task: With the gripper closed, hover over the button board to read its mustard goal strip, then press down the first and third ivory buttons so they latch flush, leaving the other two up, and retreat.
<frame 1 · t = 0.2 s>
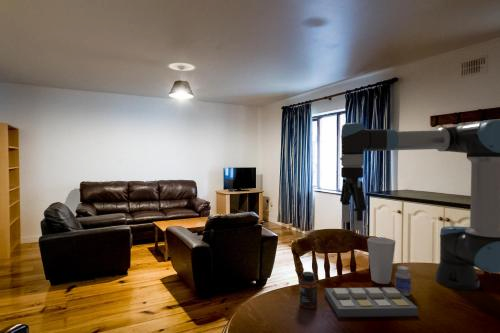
hand: (351, 225, 110), 27 cm above the table, fingers open, 13 cm apart
pill bottle: (402, 293, 117), on the table
cup: (381, 281, 129), on the table
button 4: (340, 294, 109), point 3 cm above the table, slide at 0.0 cm
board: (368, 304, 107), on the table
button 3: (357, 293, 109), point 3 cm above the table, slide at 0.0 cm
button 1: (390, 293, 110), point 3 cm above the table, slide at 0.0 cm
supplement bottle: (308, 306, 107), on the table
button 2: (374, 293, 109), point 3 cm above the table, slide at 0.0 cm
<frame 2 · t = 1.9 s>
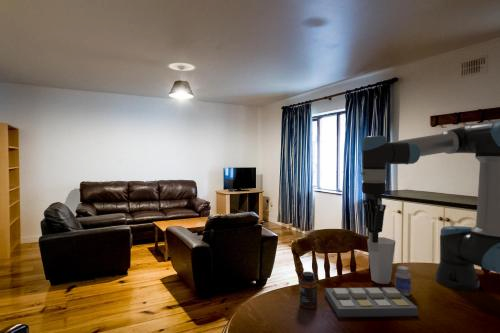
hand: (373, 251, 104), 20 cm above the table, fingers closed
nothing on the table moved.
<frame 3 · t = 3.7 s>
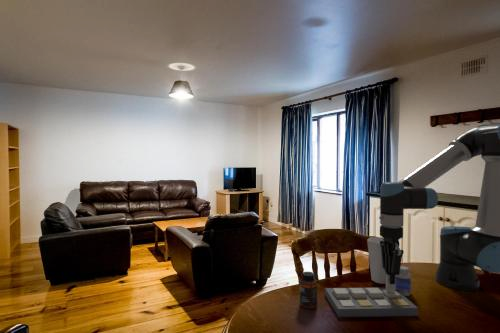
hand: (390, 291, 110), 4 cm above the table, fingers closed
button 1: (390, 295, 110), point 2 cm above the table, slide at 0.8 cm, touching gripper
everything else where it was.
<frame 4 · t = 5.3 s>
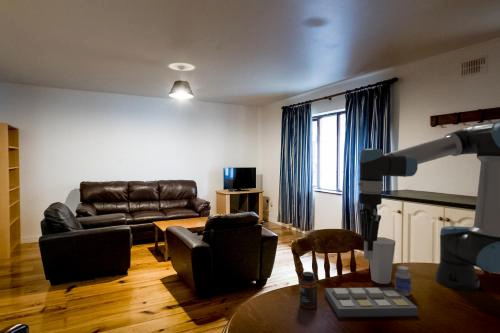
hand: (368, 258, 109), 16 cm above the table, fingers closed
button 1: (390, 296, 110), point 2 cm above the table, slide at 1.1 cm
everything else where it was.
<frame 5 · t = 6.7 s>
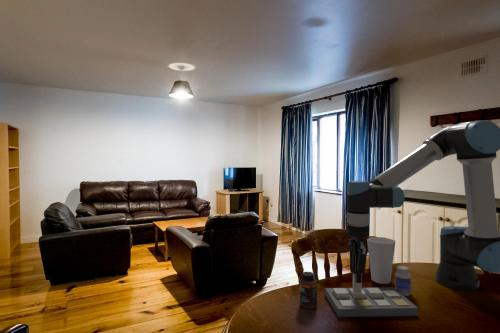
hand: (357, 290, 109), 4 cm above the table, fingers closed
button 3: (357, 294, 109), point 3 cm above the table, slide at 0.2 cm, touching gripper
everything else where it was.
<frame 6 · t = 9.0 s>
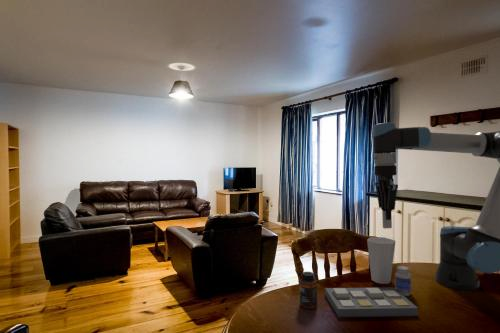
hand: (387, 227, 115), 25 cm above the table, fingers closed
button 3: (357, 296, 109), point 2 cm above the table, slide at 1.0 cm
everything else where it was.
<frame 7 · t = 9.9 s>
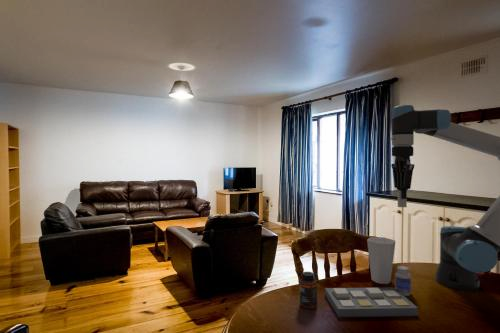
hand: (402, 206, 119), 32 cm above the table, fingers closed
nothing on the table moved.
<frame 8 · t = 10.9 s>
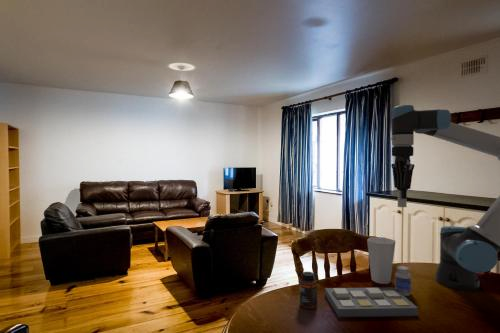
hand: (402, 206, 119), 32 cm above the table, fingers closed
nothing on the table moved.
at the end: button 1 slide at 1.1 cm; button 3 slide at 1.0 cm; button 2 slide at 0.0 cm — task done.
